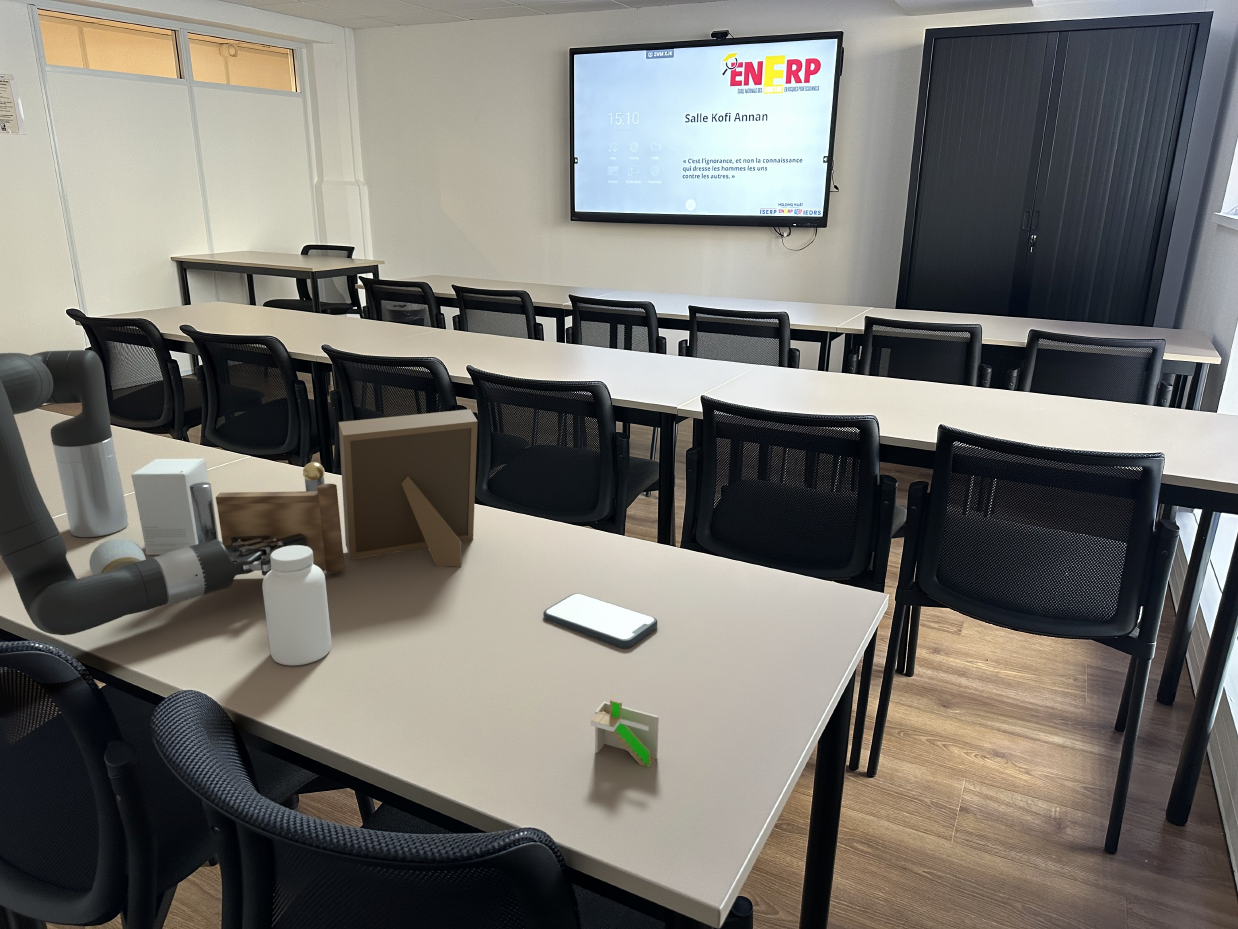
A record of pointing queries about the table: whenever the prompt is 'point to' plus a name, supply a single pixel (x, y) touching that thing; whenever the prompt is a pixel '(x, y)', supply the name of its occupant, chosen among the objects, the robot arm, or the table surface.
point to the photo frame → (409, 484)
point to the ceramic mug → (114, 555)
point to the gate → (287, 520)
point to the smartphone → (601, 620)
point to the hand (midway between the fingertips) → (304, 540)
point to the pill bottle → (296, 607)
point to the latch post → (313, 476)
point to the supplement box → (168, 502)
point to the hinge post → (204, 512)
